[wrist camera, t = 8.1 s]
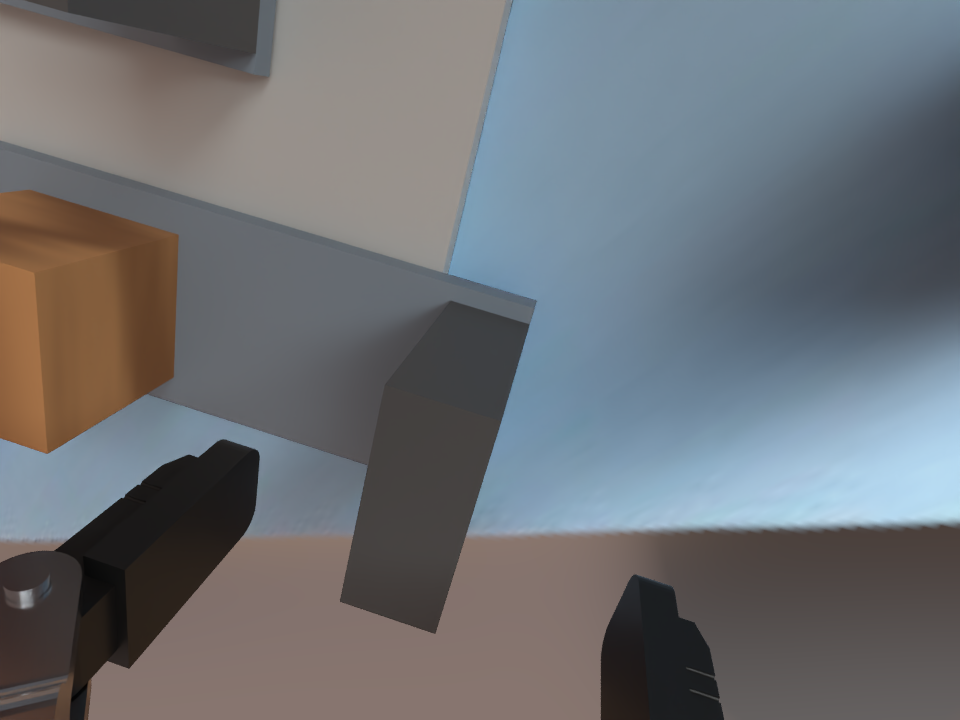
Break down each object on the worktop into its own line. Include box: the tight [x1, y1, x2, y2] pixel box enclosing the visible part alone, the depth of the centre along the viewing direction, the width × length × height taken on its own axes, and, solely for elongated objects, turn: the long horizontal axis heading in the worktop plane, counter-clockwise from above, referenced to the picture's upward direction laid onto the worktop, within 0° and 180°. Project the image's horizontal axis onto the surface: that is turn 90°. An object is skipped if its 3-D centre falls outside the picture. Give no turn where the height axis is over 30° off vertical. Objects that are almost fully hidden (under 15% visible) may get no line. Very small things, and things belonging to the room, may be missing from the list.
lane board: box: [0, 0, 513, 274], centre depth 18 cm, size 24×19×1 cm
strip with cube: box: [0, 141, 537, 633], centre depth 16 cm, size 18×7×7 cm, turn 76°
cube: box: [0, 190, 179, 454], centre depth 16 cm, size 5×5×5 cm
